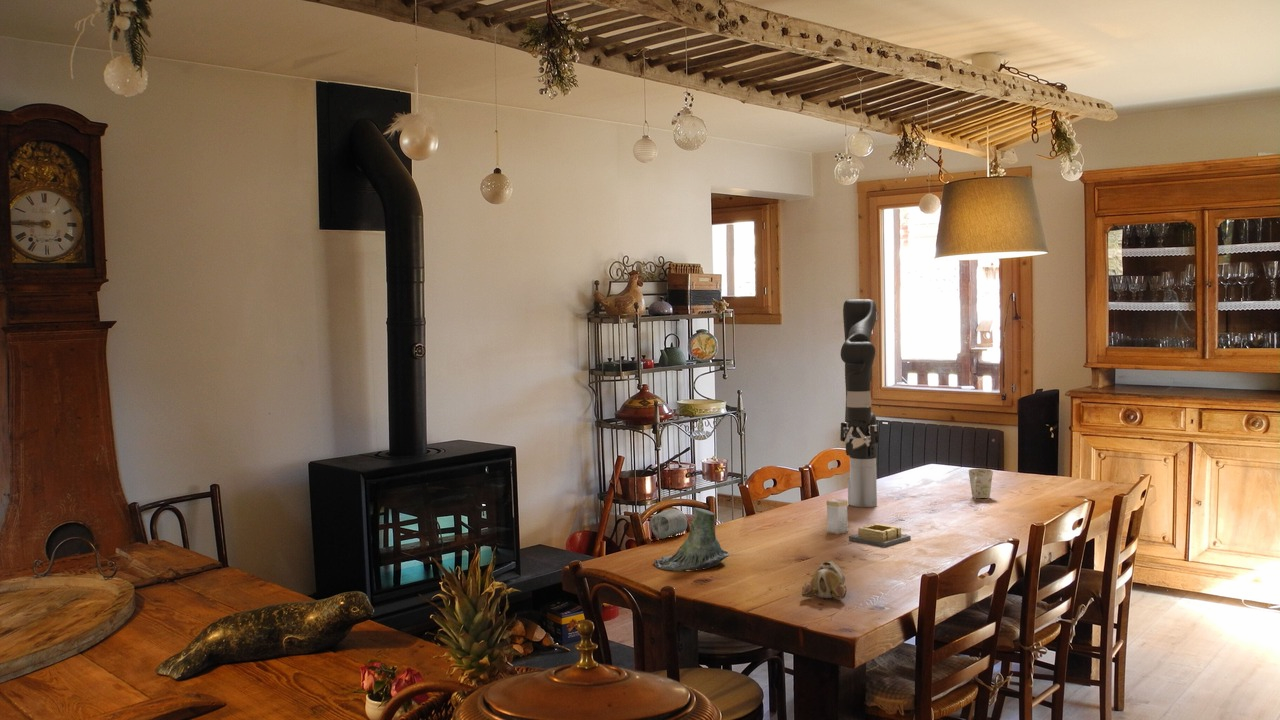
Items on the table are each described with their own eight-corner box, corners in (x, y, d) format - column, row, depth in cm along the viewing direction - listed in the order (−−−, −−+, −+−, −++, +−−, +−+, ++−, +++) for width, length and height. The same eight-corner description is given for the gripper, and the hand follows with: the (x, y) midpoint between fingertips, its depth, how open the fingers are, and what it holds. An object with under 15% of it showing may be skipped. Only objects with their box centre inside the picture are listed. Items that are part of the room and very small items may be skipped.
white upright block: (827, 532, 308) (826, 500, 307) (836, 529, 311) (835, 498, 310) (838, 534, 304) (838, 502, 304) (847, 531, 307) (847, 500, 307)
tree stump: (653, 557, 283) (667, 497, 283) (721, 573, 282) (734, 512, 282) (652, 570, 265) (666, 506, 265) (724, 587, 264) (738, 523, 264)
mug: (995, 496, 358) (995, 469, 358) (987, 502, 348) (987, 474, 347) (972, 494, 363) (971, 468, 362) (963, 500, 352) (963, 473, 352)
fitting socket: (848, 540, 296) (848, 528, 296) (875, 533, 304) (874, 521, 304) (884, 547, 286) (884, 534, 286) (910, 539, 294) (910, 527, 294)
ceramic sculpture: (852, 555, 243) (842, 573, 229) (854, 588, 244) (844, 609, 230) (810, 552, 247) (798, 571, 233) (811, 586, 247) (799, 606, 233)
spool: (667, 532, 298) (661, 501, 303) (646, 542, 304) (640, 512, 308) (697, 535, 308) (690, 505, 312) (676, 545, 313) (670, 516, 318)
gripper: (834, 404, 310) (834, 455, 311) (867, 407, 298) (868, 460, 299) (850, 403, 314) (851, 453, 315) (884, 405, 302) (885, 457, 303)
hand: (859, 456), depth 307 cm, fingers open, 8 cm apart
